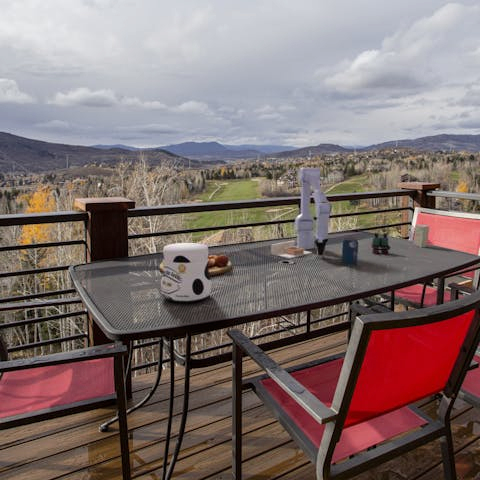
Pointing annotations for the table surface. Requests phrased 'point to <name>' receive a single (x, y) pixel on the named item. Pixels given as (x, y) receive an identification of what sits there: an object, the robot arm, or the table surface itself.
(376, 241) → the binoculars
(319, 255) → the beige cylinder
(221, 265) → the wooden plate with food
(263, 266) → the table surface
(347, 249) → the soda can
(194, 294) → the milk container
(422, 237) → the skincare box
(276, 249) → the cup bracket
